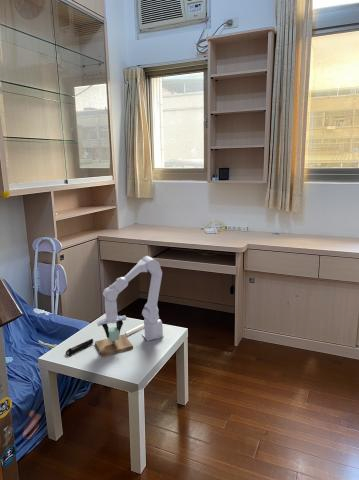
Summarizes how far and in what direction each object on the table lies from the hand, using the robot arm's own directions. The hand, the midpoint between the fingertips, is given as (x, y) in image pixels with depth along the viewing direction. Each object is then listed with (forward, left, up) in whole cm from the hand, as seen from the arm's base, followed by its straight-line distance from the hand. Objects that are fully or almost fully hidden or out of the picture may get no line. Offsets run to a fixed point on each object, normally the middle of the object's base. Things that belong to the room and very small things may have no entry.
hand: (113, 335), depth 181 cm
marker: (-17, -11, -7) cm, 21 cm away
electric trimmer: (+16, -6, -6) cm, 18 cm away
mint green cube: (0, 0, -2) cm, 2 cm away
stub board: (0, 0, -6) cm, 6 cm away
